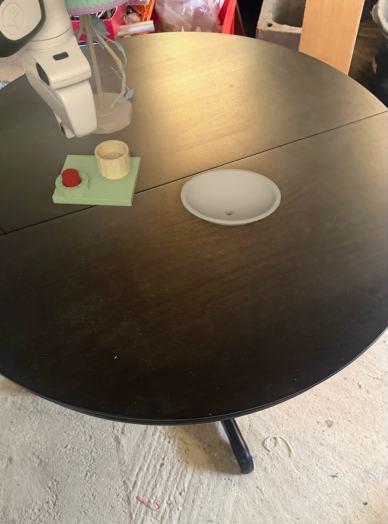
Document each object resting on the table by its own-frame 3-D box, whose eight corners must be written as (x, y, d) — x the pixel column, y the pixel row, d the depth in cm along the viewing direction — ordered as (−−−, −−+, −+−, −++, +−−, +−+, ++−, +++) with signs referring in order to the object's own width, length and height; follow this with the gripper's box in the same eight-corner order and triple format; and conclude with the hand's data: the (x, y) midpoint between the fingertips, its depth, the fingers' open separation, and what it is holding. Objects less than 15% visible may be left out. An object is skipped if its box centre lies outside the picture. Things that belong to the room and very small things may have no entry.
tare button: (62, 187, 89) (59, 178, 87) (65, 176, 91) (63, 167, 89) (78, 188, 89) (76, 179, 87) (82, 177, 90) (80, 168, 89)
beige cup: (96, 180, 92) (91, 160, 88) (102, 159, 95) (98, 139, 91) (128, 181, 91) (125, 161, 87) (133, 160, 95) (130, 140, 91)
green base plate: (53, 203, 90) (49, 190, 88) (69, 160, 97) (65, 147, 95) (131, 206, 89) (129, 193, 87) (141, 163, 96) (139, 150, 94)
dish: (179, 243, 84) (177, 221, 80) (184, 189, 92) (183, 167, 88) (279, 245, 83) (283, 224, 79) (275, 191, 91) (279, 169, 87)
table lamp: (162, 94, 110) (143, -151, 76) (140, 151, 98) (106, -107, 65) (73, 87, 112) (17, -153, 79) (41, 142, 101) (-40, -112, 67)
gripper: (1, 26, 74) (28, 111, 86) (54, 84, 65) (77, 170, 77) (38, 15, 76) (60, 99, 88) (95, 70, 67) (111, 156, 78)
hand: (68, 133), depth 82 cm, fingers closed
